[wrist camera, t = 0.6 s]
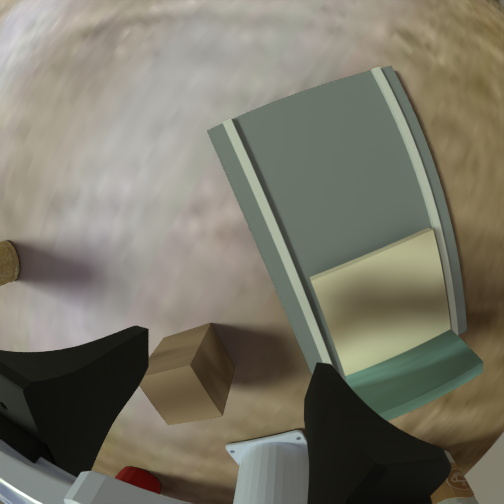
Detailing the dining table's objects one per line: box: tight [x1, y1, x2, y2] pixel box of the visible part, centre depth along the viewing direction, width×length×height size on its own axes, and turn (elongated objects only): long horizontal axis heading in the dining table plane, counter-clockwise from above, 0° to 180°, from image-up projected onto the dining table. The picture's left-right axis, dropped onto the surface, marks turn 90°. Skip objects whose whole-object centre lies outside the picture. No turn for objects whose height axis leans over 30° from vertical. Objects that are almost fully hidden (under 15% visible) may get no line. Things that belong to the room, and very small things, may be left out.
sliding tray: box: [310, 228, 483, 421], centre depth 17 cm, size 9×9×6 cm
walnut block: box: [139, 323, 235, 425], centre depth 20 cm, size 4×4×6 cm
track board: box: [207, 66, 467, 384], centre depth 19 cm, size 22×14×1 cm, turn 23°
